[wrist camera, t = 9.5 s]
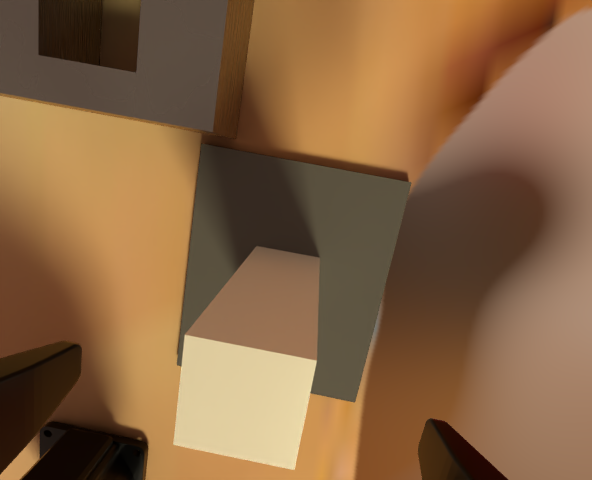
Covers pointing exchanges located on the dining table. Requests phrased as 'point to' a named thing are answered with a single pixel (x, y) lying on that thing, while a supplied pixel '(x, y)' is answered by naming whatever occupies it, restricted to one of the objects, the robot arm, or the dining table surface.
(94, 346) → the dining table surface
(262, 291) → the peg
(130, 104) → the grey block with holes
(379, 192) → the mat
